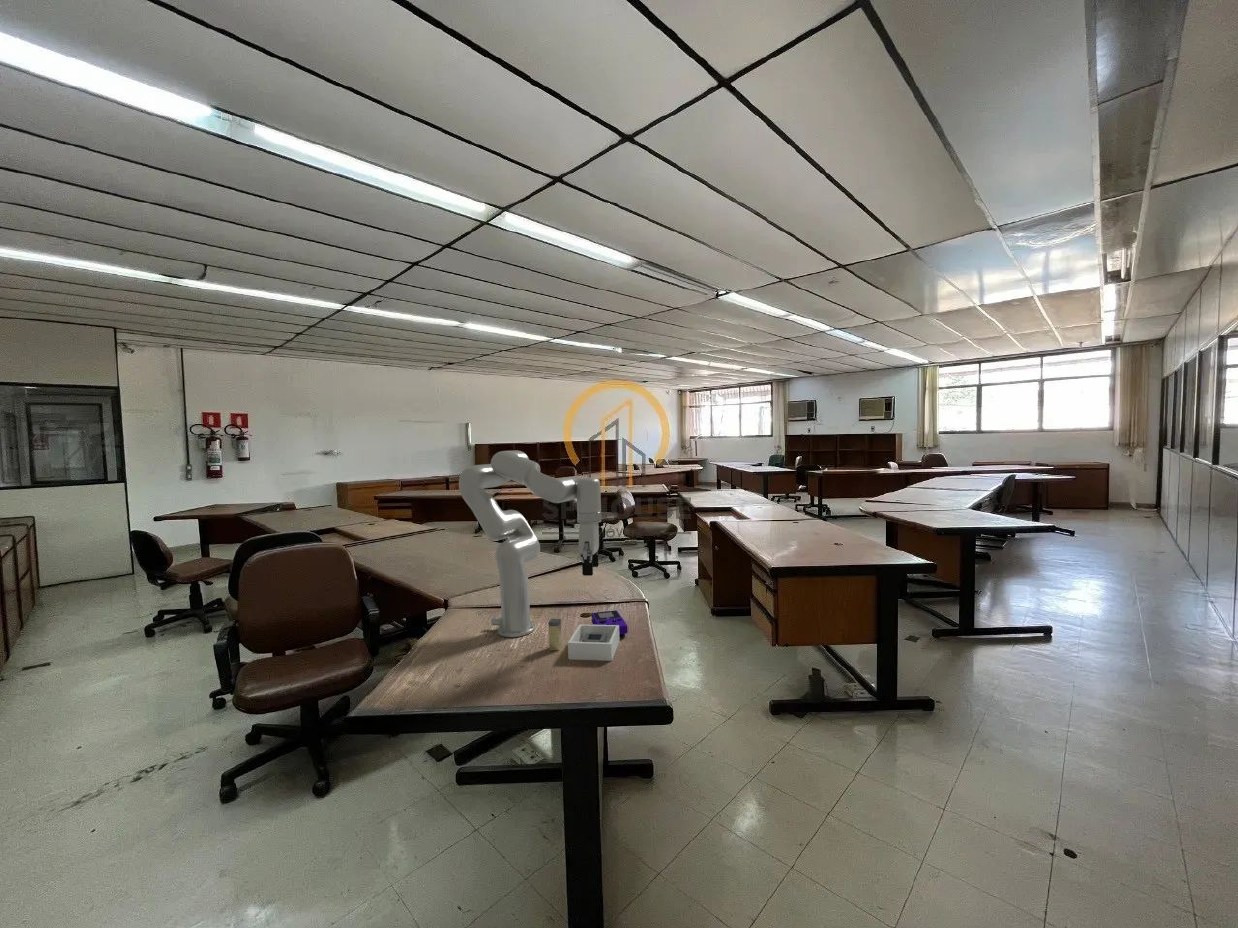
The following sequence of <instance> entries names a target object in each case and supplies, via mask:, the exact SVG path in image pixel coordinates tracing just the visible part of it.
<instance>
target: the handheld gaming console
mask: <svg viewBox="0 0 1238 928" xmlns="http://www.w3.org/2000/svg"><path fill="white" fill-rule="evenodd" d="M591 623H592V624H591V625H619V635H626V634H628V623H626V621H625V620H624V618H623V617H622V615H621V614H620V613H619V612H618V610H615V609H614V610H608V611H598V612H596V611H595V612H591Z"/></svg>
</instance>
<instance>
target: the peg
mask: <svg viewBox="0 0 1238 928" xmlns="http://www.w3.org/2000/svg"><path fill="white" fill-rule="evenodd" d="M547 624H548V641H549V642H548V643H549V644H548V645H549V651H551V650H557V652H559V651H560V650H561V649H562V647H563V639H562V621H561V618H551V619H549V621H548V623H547ZM558 650H559V651H558Z"/></svg>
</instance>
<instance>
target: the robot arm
mask: <svg viewBox="0 0 1238 928" xmlns="http://www.w3.org/2000/svg"><path fill="white" fill-rule="evenodd" d="M458 479H459V480H458V489H459V492H460V495H461V497H462V499H463V500H464V502H465V503H466V504H467V505H468V507H469V509H471V512H472V513H473V515H474V516H475V519H476V521H478V523H479V525H480V526H481V528H482V530H483V532H484V533H485V534H486V536H487V538H488V539H490V540H491V541H500V540H504V539H507V540H505V541H503V542H501V543H500V544H499V545H498V546H497V548H496V549H495V561H496V565H497V569H498V577H499V589H500V591H499V592H500V607H501V609H500V611H501V616H500V617H498V616H497V617H491V625H492V626H498V628H497V634H498V635H499V636H500V637H504V638H517V637H523V636H527V635H529V634H531V633H532V632H534V631H535V629H536V624H535V622H533V621H531V612H530V609H531V607H530V606H531V605H530V592H529V587H530V586H529V577H528V573H527V570H526V569H525V566H524V565H525V564H526V563H529V562H531V561H533V560H535V559H536V558H538V556H539V555H540V553H541V545H540V542H539V539H538V537H537V536H536V534H535V532H534V531H533V529H532V528H531V526H530V524H529V522H528V521H527V519H526V518H525V517H524V515H523V514H522V513H520V512H519V511H518V510H514V509H507V510H502V508H501V507H500V506H499V504H498V503H497V500H496V499H495V498H494V497H493V496H492V495H491V494H490V493H489V492H487V491H486V490H485V489H488V488H496V487H499V486H502V485H504V484H507V483H508V482H511V481H513V482H516V483H518V484H520V485H523V486H525V487H526V488H527V489H528V491H530V493H532V494H533V495H534V496H536V497H538V498H540V499H543V500H545V501H548V502H551V503H554V504H560V503H564V502H569V501H574V500H576V513H577V514H576V515H577V516H576V517H577V518H576V519H577V523H578V524H579V528H578V555H579V556H582V557H581V558H582V559H581V560H582V561H581V567H582V568H581V571H582V572H581V573H582V576H590V577H592V576H593V574H594V568H598V567H599V548H600V535H599V534H600V531H599V523H601V522H602V499H601V498H602V497H601V496H602V494H601V481H600V479H598V478H596V477H579V476H578V477H577V476H567V477H566V476H565V477H559V478H556V477H552V476H549V475H547V474H544V473H542V472H541V466H540V464H539V463H538V462H536V461H533V460H531V459H530V458H529V456H528V455H527V454H526V453H525V452H524V451H521V450H516V449H515V450H501V451H498V452H496V453H494V455H493V456H492V458H491V460H490V463H486V464H485V463H484V464H475V465H471V466H468V467H466V468H464V470H462V471H461V473H460V475H459V478H458ZM508 538H509V539H508Z"/></svg>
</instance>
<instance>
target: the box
mask: <svg viewBox="0 0 1238 928" xmlns="http://www.w3.org/2000/svg"><path fill="white" fill-rule="evenodd" d="M620 640H621V639H620V634H619V625H593V624H582V623H581V624H578V626H577V628H575V630H574V632H573V634H572V636H571V637H570V639H569V640H568V642H567V653H568V655H567V656H568V657H567V658H568V660H572V661H573V660H576V661H602V662H604V661H607V662H612V661H613V660H614V656H615V654H616V652H617V648H618V646H619V644H620Z"/></svg>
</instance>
